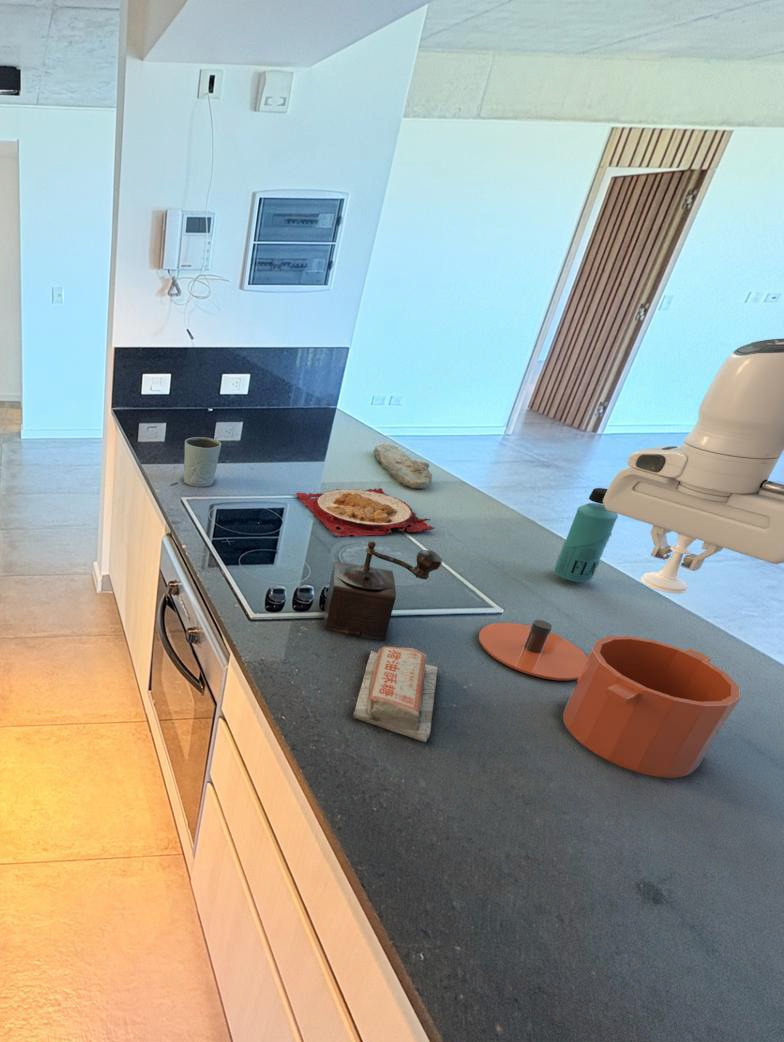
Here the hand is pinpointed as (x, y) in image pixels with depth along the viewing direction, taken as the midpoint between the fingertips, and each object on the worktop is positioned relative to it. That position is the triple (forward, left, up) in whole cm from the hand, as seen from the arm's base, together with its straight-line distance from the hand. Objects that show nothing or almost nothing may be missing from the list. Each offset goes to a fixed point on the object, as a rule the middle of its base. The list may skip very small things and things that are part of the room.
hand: (674, 562), depth 86 cm
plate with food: (+66, -19, -23) cm, 73 cm away
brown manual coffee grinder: (+29, +19, -23) cm, 42 cm away
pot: (-7, +9, -23) cm, 26 cm away
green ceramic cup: (+103, +4, -23) cm, 106 cm away
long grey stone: (+85, -55, -23) cm, 104 cm away
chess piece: (0, 0, -4) cm, 4 cm away
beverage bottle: (+23, -31, -23) cm, 45 cm away
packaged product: (+13, +31, -23) cm, 41 cm away
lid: (+11, +1, -22) cm, 25 cm away
